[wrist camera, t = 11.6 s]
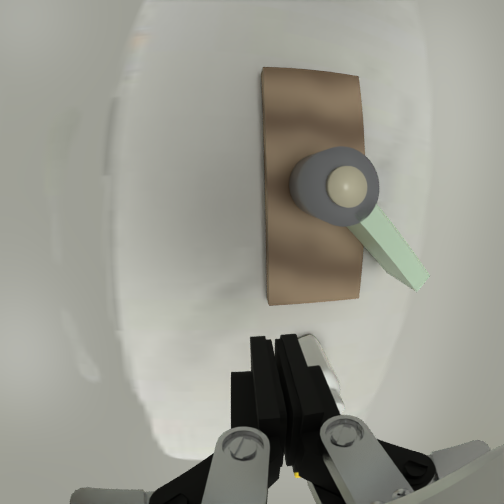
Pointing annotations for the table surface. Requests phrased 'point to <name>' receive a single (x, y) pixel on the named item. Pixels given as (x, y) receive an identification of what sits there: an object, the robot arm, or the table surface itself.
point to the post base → (278, 193)
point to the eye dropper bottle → (317, 357)
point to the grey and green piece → (354, 207)
